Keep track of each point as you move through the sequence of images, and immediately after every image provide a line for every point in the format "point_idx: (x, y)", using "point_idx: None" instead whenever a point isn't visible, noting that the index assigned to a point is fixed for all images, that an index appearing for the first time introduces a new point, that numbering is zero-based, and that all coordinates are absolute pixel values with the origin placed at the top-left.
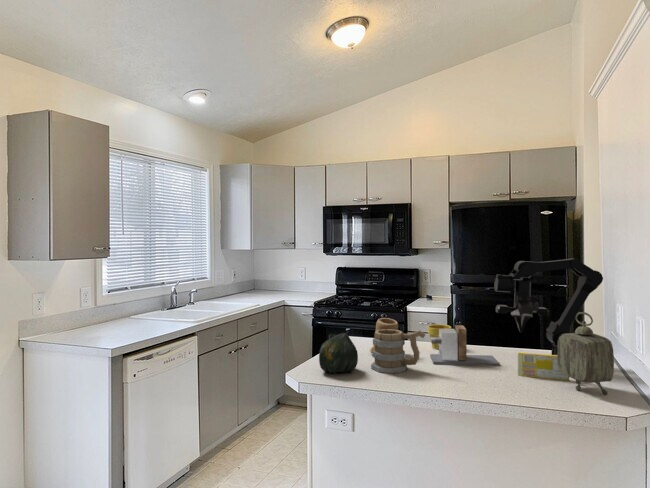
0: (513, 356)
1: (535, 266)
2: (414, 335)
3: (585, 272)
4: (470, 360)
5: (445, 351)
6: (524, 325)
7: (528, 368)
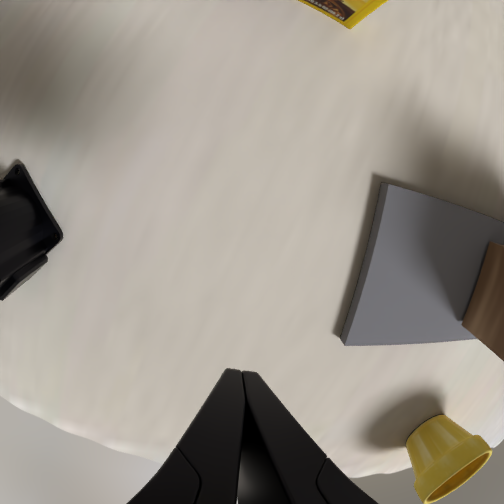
0: (213, 368)
1: None
2: None
3: None
4: (472, 250)
5: None
6: (198, 438)
7: None
